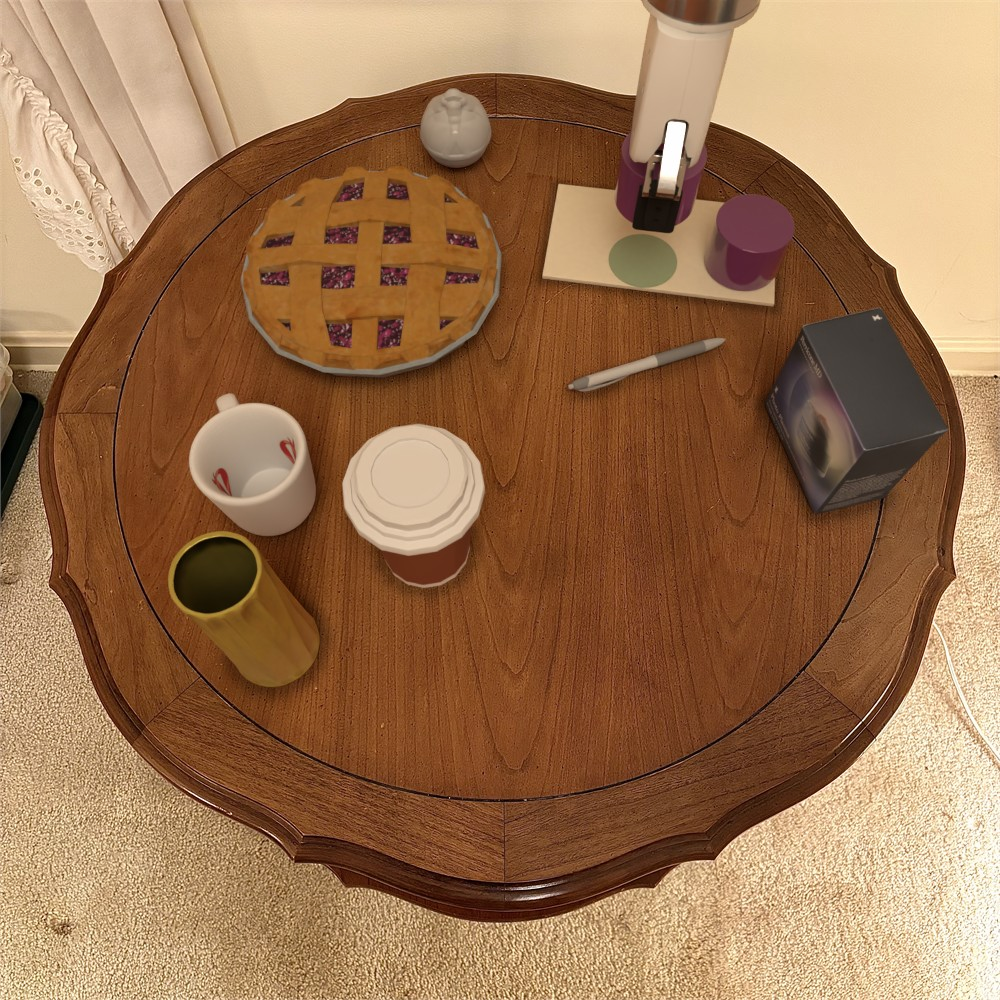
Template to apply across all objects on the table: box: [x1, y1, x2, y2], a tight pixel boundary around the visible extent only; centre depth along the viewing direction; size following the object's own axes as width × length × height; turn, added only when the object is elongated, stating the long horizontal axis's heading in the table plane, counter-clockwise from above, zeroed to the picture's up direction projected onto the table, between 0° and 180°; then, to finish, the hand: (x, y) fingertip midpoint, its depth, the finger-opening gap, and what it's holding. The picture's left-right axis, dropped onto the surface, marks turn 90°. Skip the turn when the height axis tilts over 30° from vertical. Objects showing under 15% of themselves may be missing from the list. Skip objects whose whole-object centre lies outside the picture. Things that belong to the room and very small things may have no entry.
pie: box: [240, 165, 503, 379], centre depth 71 cm, size 22×22×5 cm
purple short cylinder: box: [614, 131, 708, 226], centre depth 66 cm, size 6×6×5 cm
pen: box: [567, 337, 727, 392], centre depth 69 cm, size 1×14×1 cm, turn 110°
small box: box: [763, 307, 949, 515], centre depth 62 cm, size 11×6×10 cm, turn 14°
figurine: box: [419, 87, 492, 169], centre depth 77 cm, size 6×7×8 cm
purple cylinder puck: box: [704, 193, 795, 291], centre depth 72 cm, size 6×6×5 cm
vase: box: [167, 530, 321, 688], centre depth 53 cm, size 6×6×14 cm
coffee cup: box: [341, 423, 486, 589], centre depth 57 cm, size 9×9×12 cm
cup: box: [188, 392, 317, 537], centre depth 61 cm, size 11×8×8 cm
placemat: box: [541, 183, 776, 308], centre depth 75 cm, size 20×11×1 cm, turn 81°
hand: (656, 193), depth 67 cm, fingers closed on purple short cylinder, 6 cm apart
